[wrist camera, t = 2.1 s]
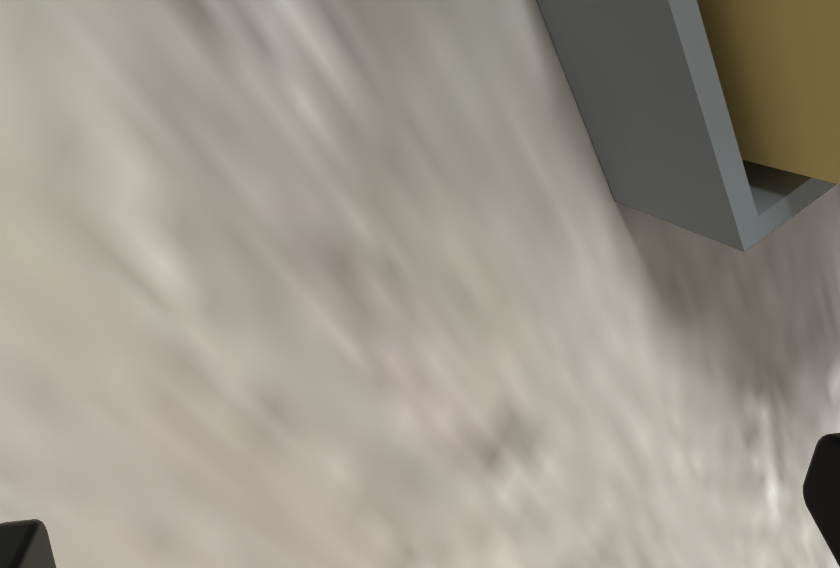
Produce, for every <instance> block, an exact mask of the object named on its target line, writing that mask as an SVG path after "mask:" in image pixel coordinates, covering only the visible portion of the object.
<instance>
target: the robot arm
mask: <svg viewBox="0 0 840 568" xmlns="http://www.w3.org/2000/svg"><path fill="white" fill-rule="evenodd" d="M803 496H804V500H805V503H806V506H807V508H808V510H809V512H810V513H811V515H812V517H813V519H814V521H815V523H816V524H817V526H818V528H819V530H820V532H821V534H822V535H823V537H824V539H825V541H826V543H827V545H828V546H829V548H830V550H831V552H832V554H833V556H834V557H835V559H836V561H837V563H838V565H839V567H840V433H834V434H827V435H825V436H823V437H822V438H821V439H820V440H819V441H818V442H817V445H816V447H815V450H814V453H813V456H812V459H811V462H810V465H809V468H808V471H807V474H806V478H805V481H804V484H803ZM0 568H56V565H55V561H54V557H53V553H52V549H51V545H50V541H49V537H48V533H47V529H46V527H45V525H44V524H43V522H42V521H40V520H37V519H32V520H22V521H13V522H5V523H1V524H0Z"/></svg>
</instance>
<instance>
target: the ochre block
mask: <svg viewBox="0 0 840 568" xmlns="http://www.w3.org/2000/svg"><path fill="white" fill-rule="evenodd" d="M697 3H698V7H699V10H700V14H701V17H702V21H703V24H704V28H705V31H706V35H707V39H708V42H709V46H710V49H711V53H712V56H713V60H714V63H715V67H716V70H717V74H718V77H719V81H720V84H721V88H722V91H723V95H724V98H725V102H726V105H727V109H728V112H729V116H730V119H731V123H732V126H733V130H734V133H735V137H736V141H737V144H738V148H739V151H740V155H741V158H742V160H745V161H749V162H753V163H757V164H761V165H765V166H769V167H773V168H777V169H781V170H784V171H788V172H792V173H796V174H800V175H804V176H808V177H812V178H816V179H820V180H824V181H828V182H832V183H836V184H839V185H840V0H697Z"/></svg>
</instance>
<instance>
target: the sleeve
mask: <svg viewBox="0 0 840 568" xmlns="http://www.w3.org/2000/svg"><path fill="white" fill-rule="evenodd" d="M537 2H538V4H539V7H540V10H541V12H542V15H543V17H544V20H545V22H546V25H547V27H548V30H549V33H550V35H551V38H552V40H553V43H554V45H555V48H556V51H557V53H558V56H559V58H560V61H561V63H562V66H563V68H564V71H565V74H566V76H567V79H568V81H569V84H570V86H571V89H572V92H573V94H574V97H575V99H576V102H577V104H578V107H579V109H580V112H581V115H582V117H583V120H584V122H585V125H586V127H587V130H588V133H589V135H590V138H591V140H592V143H593V145H594V148H595V151H596V153H597V156H598V158H599V161H600V163H601V166H602V168H603V171H604V174H605V176H606V179H607V181H608V184H609V186H610V189H611V192H612V194H613V197H614V199H615V201H617V202H619V203H622V204H624V205H627V206H629V207H632V208H634V209H637V210H639V211H642V212H645V213H647V214H650V215H652V216H655V217H657V218H660V219H662V220H665V221H667V222H670V223H673V224H675V225H678V226H680V227H683V228H685V229H688V230H690V231H693V232H695V233H698V234H701V235H703V236H706V237H708V238H711V239H713V240H716V241H718V242H721V243H723V244H726V245H728V246H731V247H734V248H736V249H739V250H741V251H744V252H745V251H746V250H748V249H749V248H750V247H752V246H753V245H755V244H756V243H757V242H759V241H760V240H761V239H763V238H764V237H765V236H767V235H768V234H769V233H771V232H772V231H774V230H775V229H776V228H778V227H779V226H780V225H782V224H783V223H784V222H786V221H787V220H788V219H790V218H791V217H793V216H794V215H795V214H797V213H798V212H799V211H801V210H802V209H803V208H805V207H806V206H808V205H809V204H810V203H812V202H813V201H814V200H816V199H817V198H818V197H820V196H821V195H822V194H824V193H825V192H827V191H828V190H829V189H831V188H832V187H833V186H835V185H836V183H832V182H828V181H824V180H820V179H816V178H812V177H808V176H804V175H800V174H796V173H792V172H788V171H784V170H781V169H777V168H773V167H769V166H765V165H761V164H757V163H753V162H749V161H745V160H742V158H741V155H740V151H739V148H738V144H737V141H736V137H735V133H734V130H733V126H732V123H731V119H730V116H729V112H728V109H727V105H726V102H725V98H724V95H723V91H722V88H721V84H720V81H719V77H718V74H717V70H716V67H715V63H714V60H713V56H712V53H711V49H710V46H709V42H708V39H707V35H706V31H705V28H704V24H703V21H702V17H701V14H700V10H699V7H698V3H697V0H537Z"/></svg>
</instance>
